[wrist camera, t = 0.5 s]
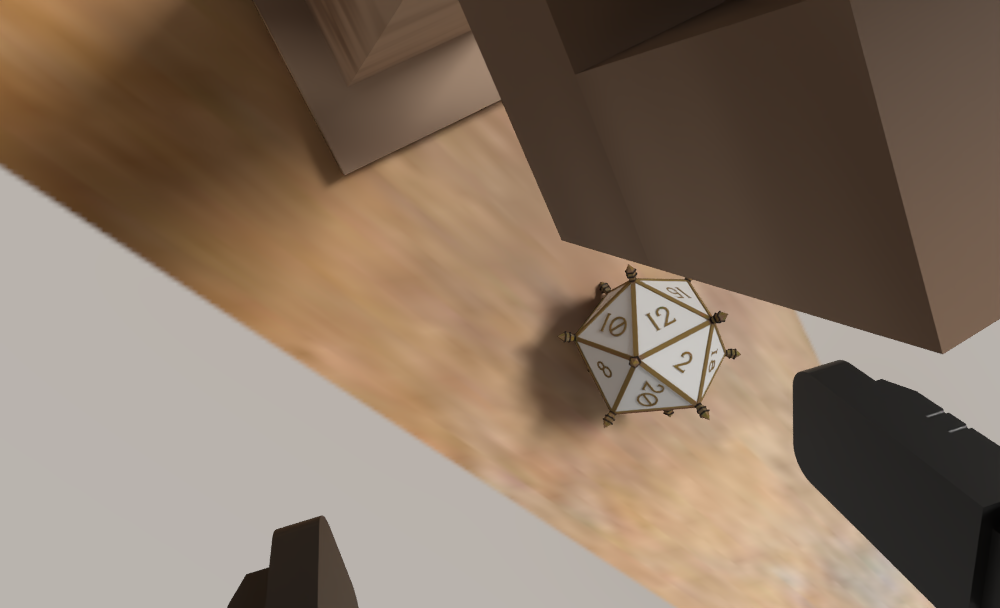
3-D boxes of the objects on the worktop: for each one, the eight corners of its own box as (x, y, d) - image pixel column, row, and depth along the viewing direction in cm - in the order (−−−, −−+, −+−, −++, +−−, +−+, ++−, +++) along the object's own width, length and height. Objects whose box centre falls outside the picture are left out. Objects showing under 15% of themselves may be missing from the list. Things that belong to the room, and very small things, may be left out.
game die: (613, 334, 44) (709, 462, 39) (508, 339, 39) (601, 488, 33) (692, 224, 39) (816, 352, 34) (584, 213, 34) (708, 362, 28)
